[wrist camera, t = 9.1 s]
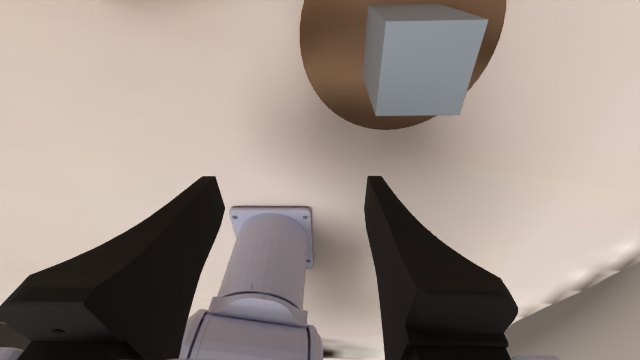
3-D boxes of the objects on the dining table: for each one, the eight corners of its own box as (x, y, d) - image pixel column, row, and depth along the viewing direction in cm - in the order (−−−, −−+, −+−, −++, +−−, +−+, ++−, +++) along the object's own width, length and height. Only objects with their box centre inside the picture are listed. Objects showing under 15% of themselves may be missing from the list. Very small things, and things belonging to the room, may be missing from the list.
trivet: (460, 120, 21) (468, 129, 20) (305, 121, 22) (304, 130, 21) (528, -97, 14) (547, -103, 13) (294, -91, 14) (292, -96, 13)
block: (424, 76, 18) (459, 115, 13) (362, 77, 18) (375, 116, 13) (439, 3, 16) (488, 19, 11) (367, 5, 16) (385, 21, 11)
